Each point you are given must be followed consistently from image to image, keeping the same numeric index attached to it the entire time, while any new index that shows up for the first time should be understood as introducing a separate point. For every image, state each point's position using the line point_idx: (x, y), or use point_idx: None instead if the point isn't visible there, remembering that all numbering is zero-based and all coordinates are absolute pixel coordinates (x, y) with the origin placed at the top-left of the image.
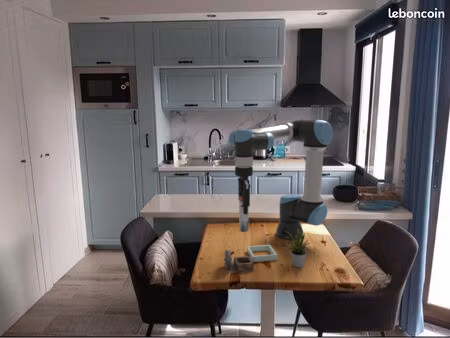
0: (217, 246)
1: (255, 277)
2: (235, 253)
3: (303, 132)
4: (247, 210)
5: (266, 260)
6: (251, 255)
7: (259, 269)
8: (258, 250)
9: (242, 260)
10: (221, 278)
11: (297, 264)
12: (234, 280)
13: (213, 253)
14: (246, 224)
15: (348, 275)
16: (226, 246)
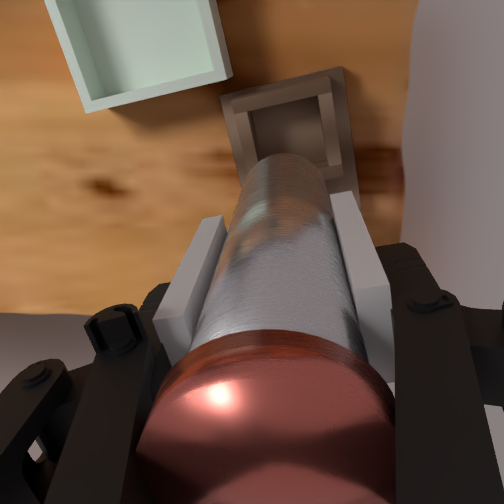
0: (48, 260)
1: (374, 63)
2: (109, 171)
3: None
4: (428, 269)
5: None
6: (196, 86)
7: (285, 36)
8: (80, 34)
9: (255, 141)
10: (372, 231)
11: None
12: (396, 173)
13: (129, 274)
14: (325, 194)
15: None
16: (37, 218)
